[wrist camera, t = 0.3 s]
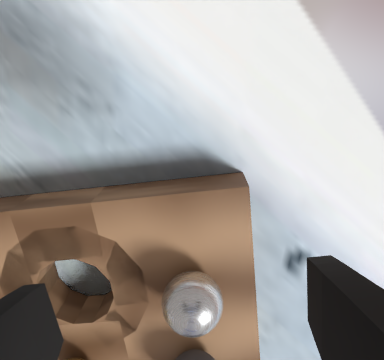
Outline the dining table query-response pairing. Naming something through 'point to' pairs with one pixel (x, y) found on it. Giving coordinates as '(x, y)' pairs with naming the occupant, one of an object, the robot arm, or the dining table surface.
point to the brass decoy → (74, 359)
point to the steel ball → (192, 304)
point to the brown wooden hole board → (137, 262)
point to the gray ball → (194, 355)
